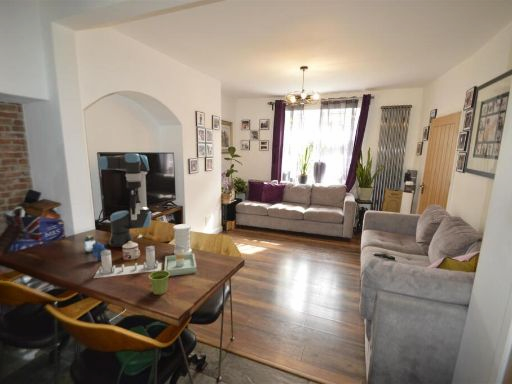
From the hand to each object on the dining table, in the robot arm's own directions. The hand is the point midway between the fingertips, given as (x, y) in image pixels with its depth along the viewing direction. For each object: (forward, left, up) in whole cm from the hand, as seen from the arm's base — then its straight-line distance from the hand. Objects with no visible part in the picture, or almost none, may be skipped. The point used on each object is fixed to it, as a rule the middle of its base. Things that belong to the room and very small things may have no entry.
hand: (135, 216), depth 150 cm
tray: (+12, +24, -29) cm, 39 cm away
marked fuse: (+12, +24, -28) cm, 39 cm away
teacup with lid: (-6, -4, -29) cm, 30 cm away
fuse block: (+12, -3, -29) cm, 31 cm away
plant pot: (+37, +14, -29) cm, 49 cm away
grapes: (-8, -23, -29) cm, 38 cm away
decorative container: (-10, +26, -29) cm, 40 cm away
